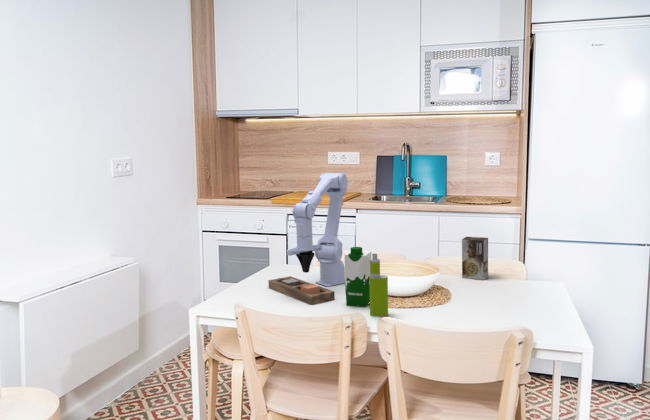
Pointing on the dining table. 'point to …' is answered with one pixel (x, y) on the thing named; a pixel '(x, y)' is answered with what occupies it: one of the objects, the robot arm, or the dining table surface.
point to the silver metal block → (290, 282)
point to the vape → (378, 289)
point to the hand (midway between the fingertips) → (305, 272)
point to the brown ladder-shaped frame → (298, 293)
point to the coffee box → (475, 258)
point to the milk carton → (357, 277)
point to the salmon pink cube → (311, 288)
